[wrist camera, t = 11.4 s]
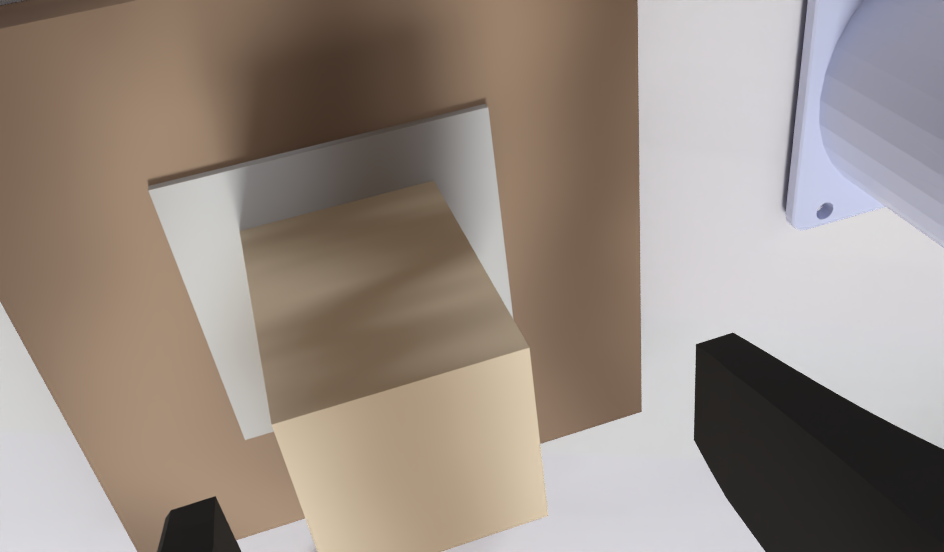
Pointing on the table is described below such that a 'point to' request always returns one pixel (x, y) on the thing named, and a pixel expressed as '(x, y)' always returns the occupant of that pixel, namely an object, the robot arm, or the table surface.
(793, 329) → the table surface
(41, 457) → the table surface
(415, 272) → the maple block
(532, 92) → the walnut base
